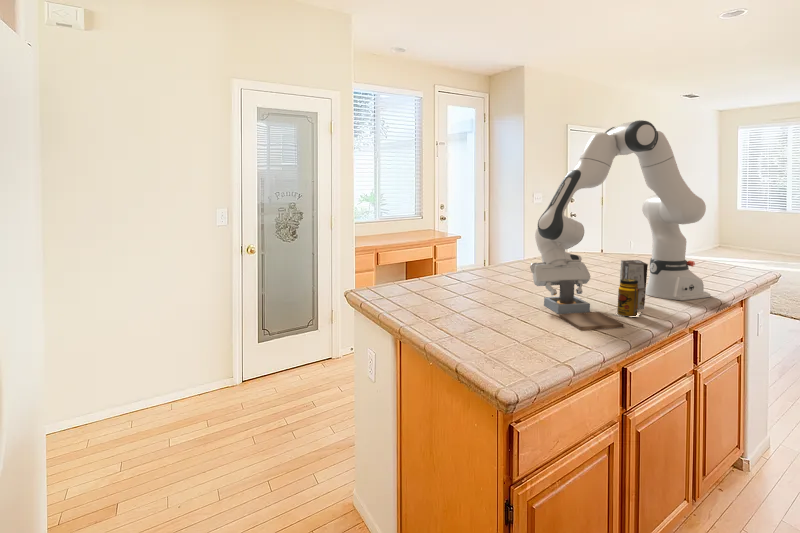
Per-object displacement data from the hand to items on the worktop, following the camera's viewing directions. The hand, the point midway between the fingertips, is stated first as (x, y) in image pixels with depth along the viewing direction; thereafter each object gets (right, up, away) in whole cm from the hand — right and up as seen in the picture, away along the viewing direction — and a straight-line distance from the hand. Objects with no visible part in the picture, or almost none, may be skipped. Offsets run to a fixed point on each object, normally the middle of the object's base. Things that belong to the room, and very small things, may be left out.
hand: (567, 293), depth 156 cm
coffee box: (+24, -5, +3) cm, 25 cm away
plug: (0, -5, +2) cm, 6 cm away
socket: (0, -5, +1) cm, 6 cm away
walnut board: (+2, -8, -14) cm, 16 cm away
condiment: (+18, -7, -7) cm, 20 cm away
